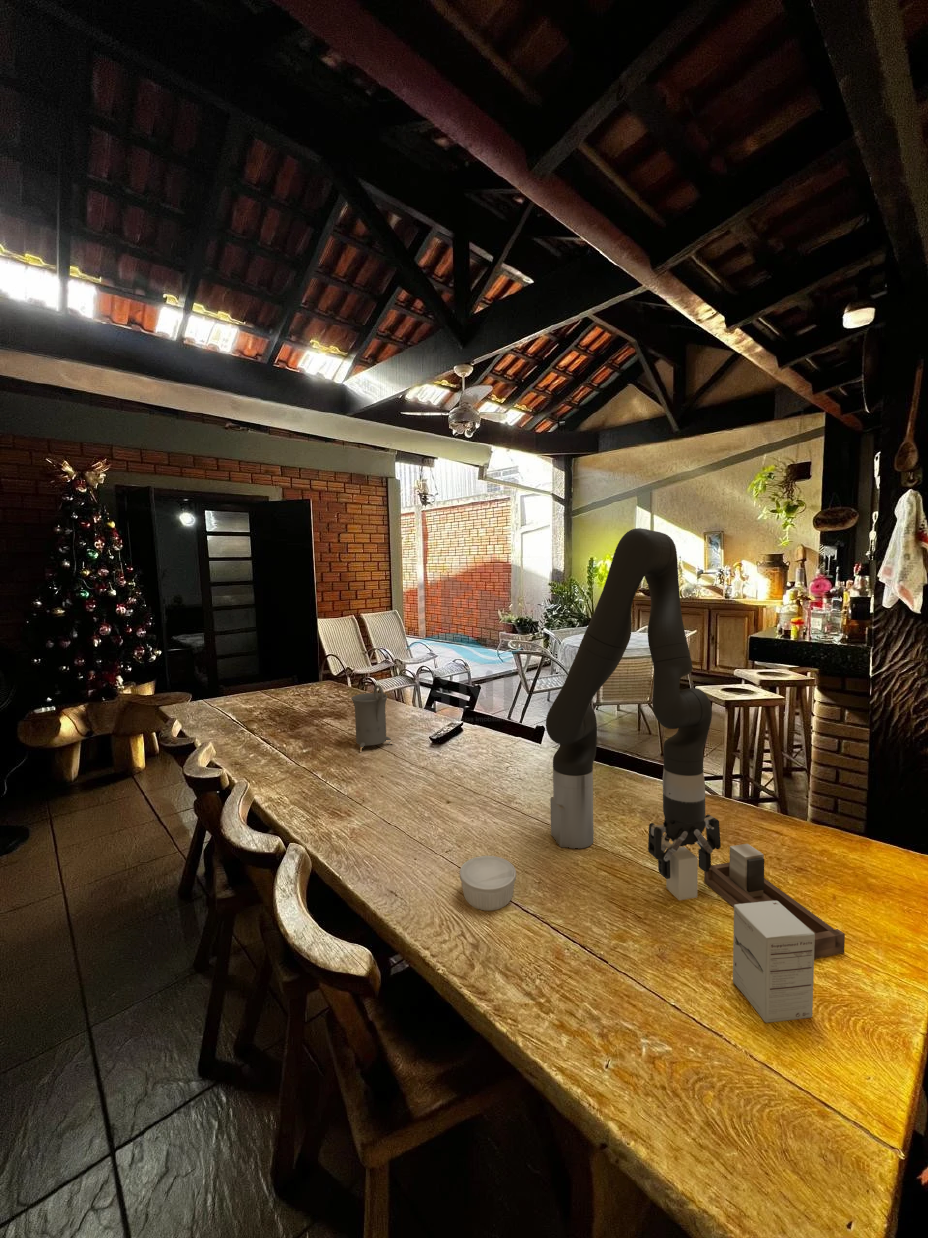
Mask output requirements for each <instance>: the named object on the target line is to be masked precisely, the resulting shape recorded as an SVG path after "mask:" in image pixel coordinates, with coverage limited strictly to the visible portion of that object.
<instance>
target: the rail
mask: <svg viewBox="0 0 928 1238" xmlns="http://www.w3.org/2000/svg"><path fill="white" fill-rule="evenodd" d="M703 872H704V871H703ZM703 875H704V876H703V879H704V880H703V882H704V883H705V884H706V885H708V887H709V888H711V889H712V890H713V891H714V892H716V894H717V895H719V896H720V897H721V898H722V899H724V901H726V902H727V903H728V904H730V906H731V907H733V908H734V905H735V904H744V903H754V902H763V901H778V902H780V903H781V904H782V905H783V906H784V907H785V908H786V909H787V910H788V911H790V912H791V913H792V914H793V915H794V916H796V918H798V919H799V920H800V921H801V922H802V923H803V924H804V925H806V926H807V927H808V928H809V929H810V930H811V931H813V932H814V934H815V945H814V960H815V959H820V958H825V957H829V956H834V955H838V954H844V953H845V944H846V943H845V942H846V941H845V938H846V937H845V935H846V934H845V933H844V932H843V931H841V929H839V928H836V929H835V928H834V927H832V926H831V925H829V924H828V923H827V922H825V921H824V920H823V919H821V918H820V917H819V916H817V915H816V914H815V913H813V912H812V911H810V910H809V909H807V908H806V907H805V906H803V905H802V904H800V902H798V901H796V899H794V898H793V897H791V896H789V895H788V894H787V893H786V892H784V891H782V890H781V888H779V887H777V886H776V885H774V884H773V883H772V882H771V881H769V880H768V879H767V878H765V855H764V853H762V852H761V851H760V850H758V849H756V848H755V847H753V846H752V845H750V844H749V843H743V844H737V845H730V846H729V862H723V863H718V864H711V867H710V868H709V872H704V874H703Z"/></svg>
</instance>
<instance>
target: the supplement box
mask: <svg viewBox="0 0 928 1238" xmlns="http://www.w3.org/2000/svg"><path fill="white" fill-rule="evenodd" d="M732 939H733V943H732V945H733V946H732V947H733V949H732V952H733V953H732V983H733V984H734V985H735V986H736V987H737V988H738V990H739V991H740V992H741V993H742V994H743V996H744V997H745V998H746V999H747V1001H748V1002H749V1003H750V1004H751V1006H752V1008H754V1010H755V1011H756V1012H757V1013H758V1015H759V1016H760V1018H761V1019H762V1020H763V1022H764V1023H775V1022H776V1023H777V1022H785V1021H794V1020H803V1019H810V1018H813V1006H814V1001H813V1000H814V972H815V971H814V969H815V959H814V945H815V934H814V932H813V931H811V930H810V929H809V928H808V927H807V926H806V925H804V924H803V923H802V922H801V921H800V920H799V919H798V918H796V916H794V915H793V914H792V913H791V912H790V911H788V910H787V909H786V908H785V907H784V906H783V905H782V904H781V903H780V902H778V901H763V902H754V903H744V904H735V905H734V907H733V938H732Z"/></svg>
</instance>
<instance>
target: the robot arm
mask: <svg viewBox="0 0 928 1238" xmlns="http://www.w3.org/2000/svg"><path fill="white" fill-rule="evenodd" d="M678 565H679V564H678V553H677V546H676V544H675V542H674V540H673V539H672V538H671V536H669V535H668V534H666V533H664V532H661V531H656V530H652V529H647V528H641V527H640V528H639V527H636V528H633V529H629V530H628V531H627V532H626V533H625V534H624V535H623V536H622V537H621V538H620V539H619V541H618V543H617V544H616V548H615V550H614V553H613V556H612V559H611V563H610V566H609V568H608V573H607V577H606V580H605V582H604V586H603V589H602V591H601V594H600V596H599V599H598V600H597V601H598V602H597V603H596V607H595V609H594V611H593V614H592V616H591V619H590V621H589V623H588V625H587V626H586V629H585V631H584V634H583V636H582V639H581V642H580V643H579V647H578V649H577V652H576V654H575V657H574V659H573V660H572V661H573V662H572V664H571V666H570V669H569V671H568V673H567V676H566V678H565V680H564V683H563V684H562V686H561V689H560V691H559V692H558V694H557V695H556V698H555V699H554V701H553V703H552V705H551V706H550V708H549V710H548V712H547V715H546V719H545V729H546V733H547V735H548V736H549V738H550V739H551V740H552V742H554V743H555V744H558V745H559V747H558V749H557V751H556V752H555V753H554V755H553V757H552V782H553V783H552V785H553V786H552V787H553V788H552V789H553V790H552V795H553V796H550V801H549V802H550V835H551V837H552V836H553V837H554V838H553V837H552V838H553V840H554V839H555V840H556V841H555V840H554V841H555V842H556V844H557V843H558V844H559V845H558V844H557V845H558V846H559V848H568V847H569V849H575V848H578V849H585V848H588V847H590V846H591V845H593V843H594V841H593V840H594V839H595V838H594V837H595V836H594V834H595V833H594V831H595V830H594V785H593V784H594V771H593V770H594V761H595V760H596V756H597V737H598V736H597V735H598V726H597V725H598V724H597V723H598V721H597V716H596V713H595V711H594V709H593V707H592V706H591V702H592V700H593V699H594V697H595V695H596V694H597V693H598V691H599V690H600V689H601V688H602V686H603V685H604V684H605V683H606V682H607V680H608V679H609V678H610V677H611V675H612V674H613V673H614V672H615V671H616V669H617V667H618V665H619V664H620V663H621V660H622V658H623V656H624V654H625V651H626V650H627V647H628V645H629V644H630V640H631V636H632V628H633V627H632V625H633V624H632V621H633V620H632V609H633V607H632V606H633V602H634V599H635V596H636V594H637V592H638V589H639V588H640V587H639V586H640V585H641V583H642V581H643V579H645V581H646V584H647V588H648V590H649V596H650V612H649V618H648V624H647V642H648V648H649V651H650V657H651V661H652V662H651V663H652V667H653V670H654V671H653V683H652V684H653V685H652V698H651V699H652V701H651V702H652V710H653V714H654V717H655V718H656V720H657V721H658V723H659V724H660V725H661V726H662V727H664V728H666V729H670V730H675V729H677V732H676V733H675V734H673V735H672V736H670V737H668V738H666V740H665V741H664V743H663V747H662V748H663V749H662V750H663V751H662V752H663V753H662V754H663V755H662V756H663V771H662V772H663V773H662V812H663V816H664V820H663V823H662V824H657V825H656V824H655V823H653V822H650V823H649V824H648V842H647V847H648V848H647V852H648V853H649V854H650V855H651V856H652V857H654V859H656V860H657V866H658V873H660V875H661V876H662V877H663V878H664V879H665V880H666V879H670V860H669V859H670V857H671V855H672V854H673V852H676V851H677V850H678V848H679V847H686V846H687V845H689V846H690V845H691V846H692V845H696V844H697V845H698V846H699V848H698V849H697V850H698V853H697V854H698V868H699V869H701V870H702V871H703V872H709V868H710V867H711V865H712V853H713V852H714V850H719V849H721V847H722V845H721V842H722V841H721V829H720V820H718V819H717V818H716V817H715V816H712V815H710V814H706V782H705V780H706V779H705V776H704V749H705V745H706V743H707V739H708V735H709V730H710V727H711V723H712V718H713V708H712V704H711V703H712V702H711V700H710V699H709V697H708V695H707V694H706V693H705V692H704V691H703V690H701V689H699V688H696V687H694V688H693V687H691V688H683V689H680V685H681V679H682V678H683V677H686V676H688V675H690V674H691V673H692V671H693V661H692V657H691V652H690V648H689V644H688V639H687V635H686V632H685V626H684V621H683V616H682V615H683V612H682V606H681V597H680V596H681V594H680V583H679V568H678V567H679V566H678ZM704 830H705V832H706V833H705V834H706V835H705V836H706V837H704V835H703V832H704ZM670 841H671V842H672V843H670ZM666 849H667V850H666Z"/></svg>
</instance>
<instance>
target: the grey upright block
mask: <svg viewBox="0 0 928 1238" xmlns="http://www.w3.org/2000/svg"><path fill="white" fill-rule="evenodd" d="M666 850H667V848H666ZM666 850H665V851H666ZM669 860H670V879H665V880H666V882H665V883H666V885H665V886H666V887H665V888H666V889H667V890H668V891H669V893H671V895H673V896H674V897H675V898H676V899H677V900H678V901H685V900H688V899H689V900H691V899H696V898H698V878H699V877H698V874H699V873H698V868H699V856H696V855H695V854H694V853H693V852H692V851H691V850H689V849H688V848H687V847H686V846H679V848H678V850H677V851H676V852H673V854H672V855H671V857H670V859H669Z"/></svg>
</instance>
